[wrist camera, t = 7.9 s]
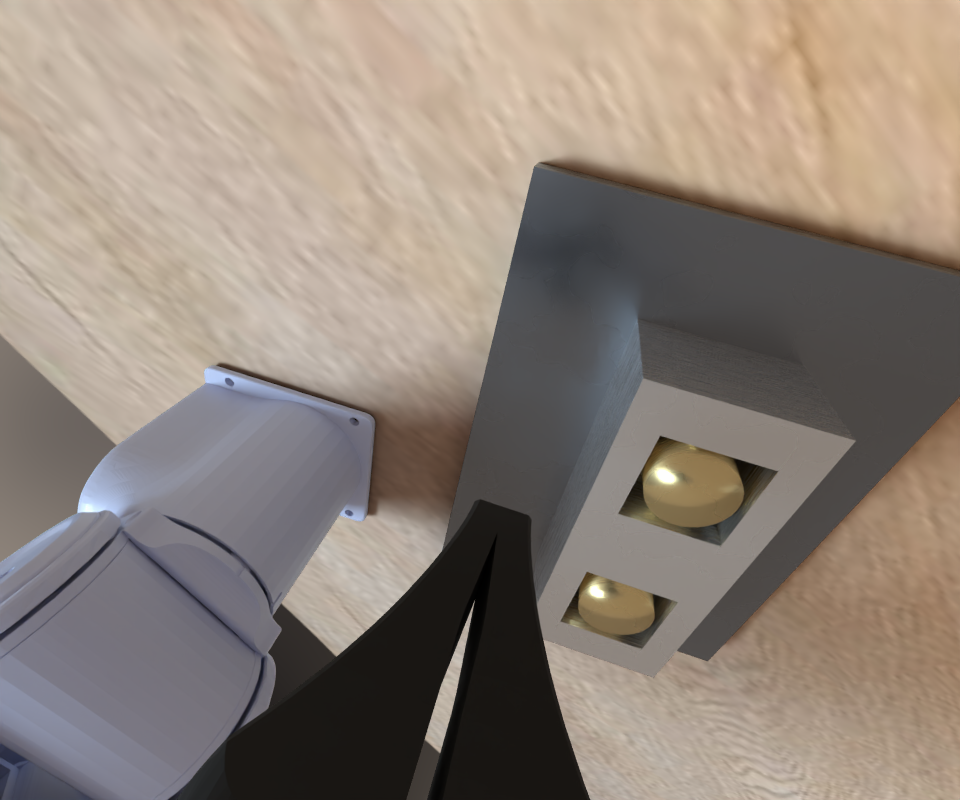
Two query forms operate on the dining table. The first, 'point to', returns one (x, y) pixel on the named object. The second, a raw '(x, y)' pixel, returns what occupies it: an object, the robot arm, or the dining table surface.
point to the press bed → (710, 314)
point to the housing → (652, 541)
